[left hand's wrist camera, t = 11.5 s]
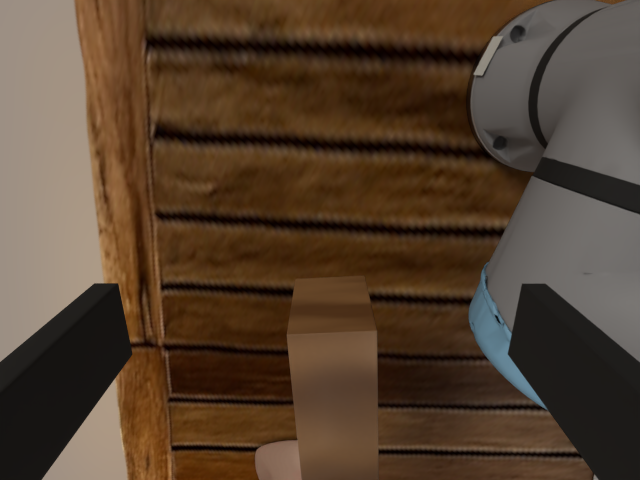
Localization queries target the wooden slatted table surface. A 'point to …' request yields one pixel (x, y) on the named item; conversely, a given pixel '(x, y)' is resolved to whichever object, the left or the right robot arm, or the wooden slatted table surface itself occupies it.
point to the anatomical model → (278, 461)
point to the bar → (334, 378)
